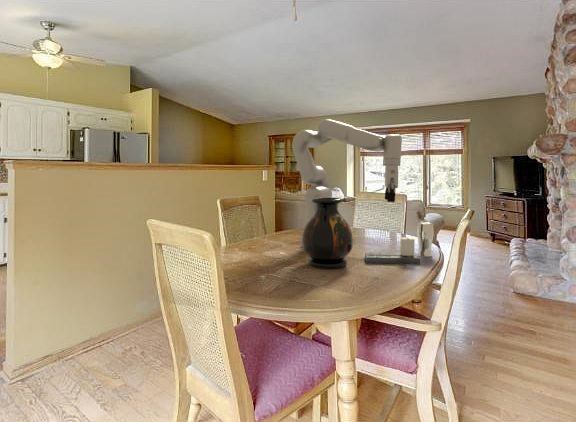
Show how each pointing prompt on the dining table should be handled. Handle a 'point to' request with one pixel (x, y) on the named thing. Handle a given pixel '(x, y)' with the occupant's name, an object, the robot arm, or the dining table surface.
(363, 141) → the robot arm
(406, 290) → the dining table surface
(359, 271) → the dining table surface
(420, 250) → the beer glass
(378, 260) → the fader console
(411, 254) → the fader knob
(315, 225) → the dark decorated vase
